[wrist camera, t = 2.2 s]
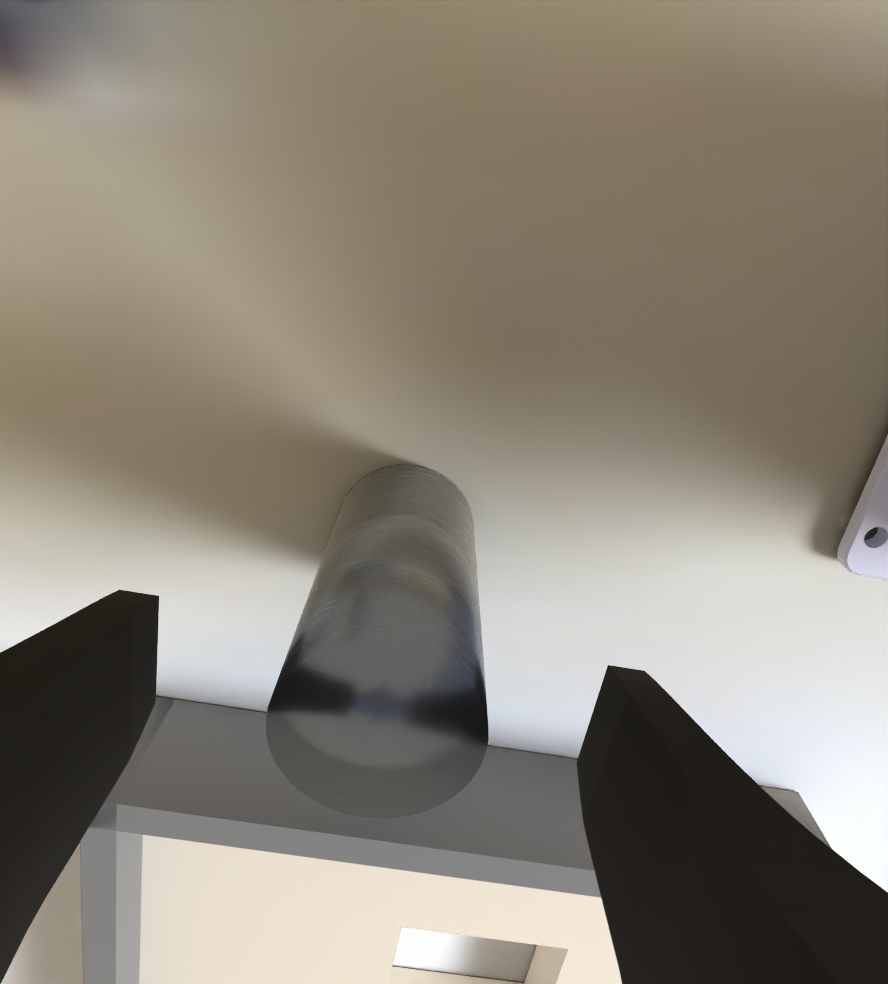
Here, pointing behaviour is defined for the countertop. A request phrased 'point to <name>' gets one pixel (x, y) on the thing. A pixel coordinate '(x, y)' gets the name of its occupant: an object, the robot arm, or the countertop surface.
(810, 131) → the countertop surface
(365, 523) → the peg
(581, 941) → the tray
